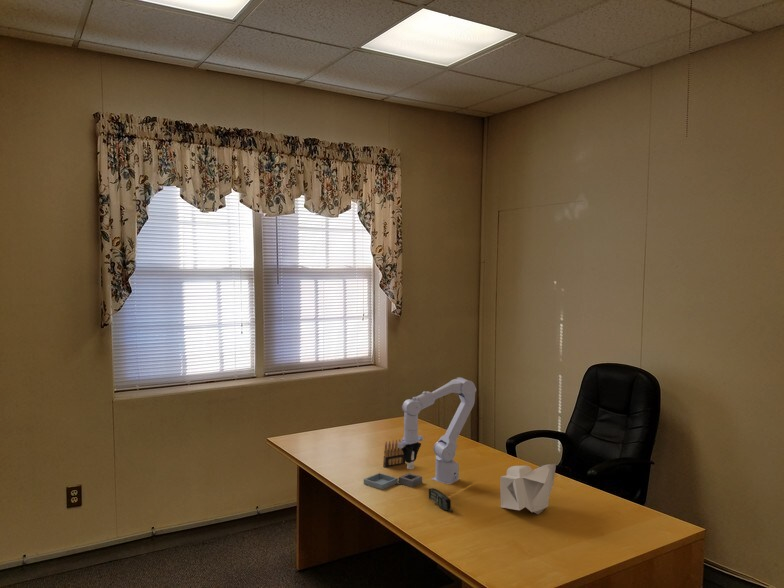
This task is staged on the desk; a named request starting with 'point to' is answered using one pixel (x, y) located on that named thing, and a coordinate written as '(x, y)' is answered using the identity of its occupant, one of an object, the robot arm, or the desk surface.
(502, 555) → the desk surface
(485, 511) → the desk surface
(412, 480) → the grey square holder
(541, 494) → the folded paper
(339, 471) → the desk surface
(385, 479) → the parts tray
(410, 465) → the fuse
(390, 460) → the ammunition clip
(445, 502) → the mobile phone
